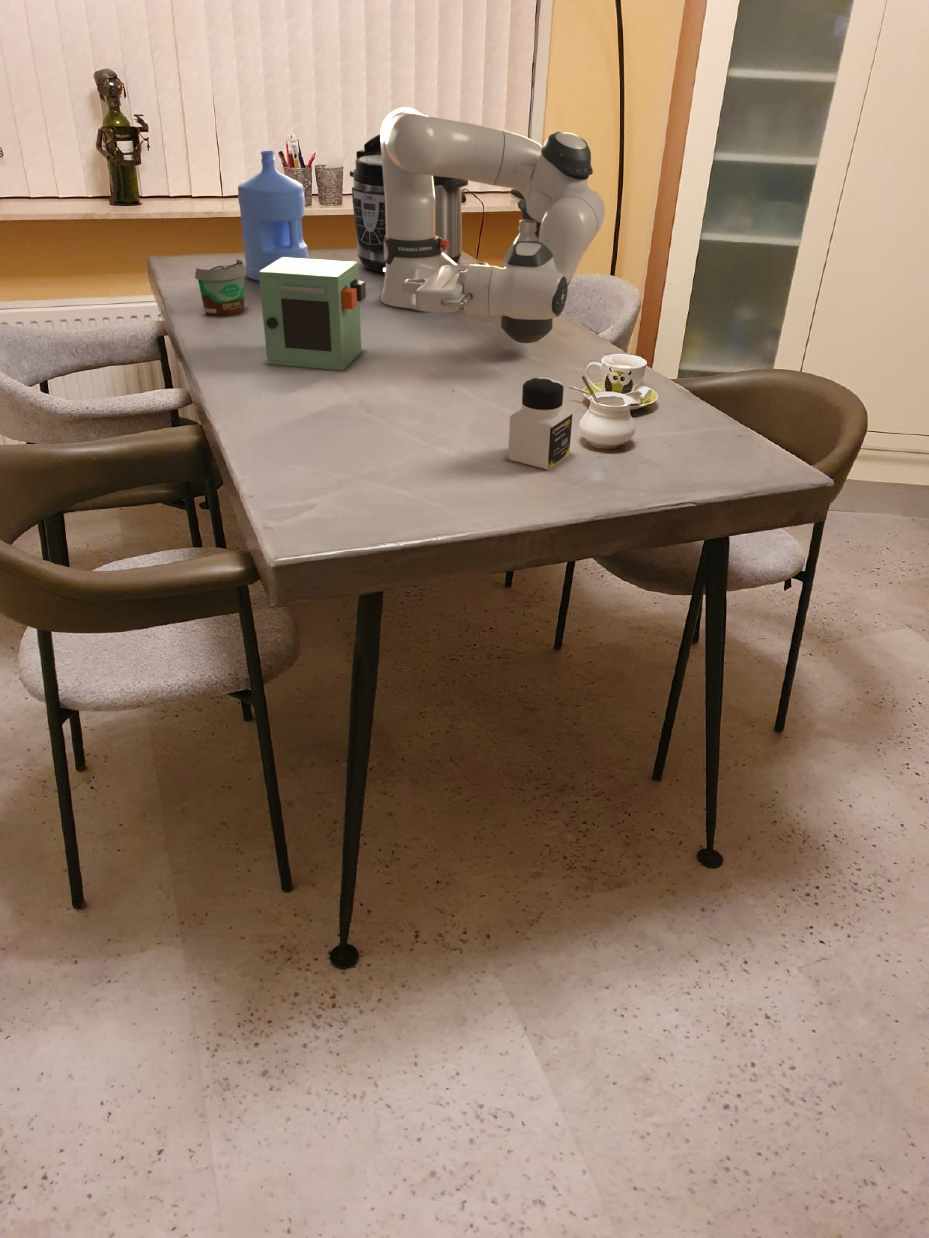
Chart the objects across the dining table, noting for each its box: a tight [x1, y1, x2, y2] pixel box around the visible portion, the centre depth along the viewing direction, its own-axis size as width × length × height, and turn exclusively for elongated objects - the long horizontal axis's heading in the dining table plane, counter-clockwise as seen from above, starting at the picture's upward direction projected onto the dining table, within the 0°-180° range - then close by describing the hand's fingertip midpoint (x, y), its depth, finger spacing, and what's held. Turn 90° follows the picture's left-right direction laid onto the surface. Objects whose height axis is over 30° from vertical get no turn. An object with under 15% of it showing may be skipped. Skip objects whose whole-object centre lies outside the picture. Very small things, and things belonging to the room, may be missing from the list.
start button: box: [341, 288, 357, 309], centre depth 176 cm, size 3×3×3 cm
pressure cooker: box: [349, 133, 469, 273], centre depth 242 cm, size 30×28×32 cm
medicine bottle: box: [507, 376, 574, 471], centre depth 144 cm, size 7×7×12 cm
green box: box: [258, 257, 362, 371], centre depth 181 cm, size 15×13×17 cm
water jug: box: [237, 150, 309, 282], centre depth 232 cm, size 16×16×28 cm
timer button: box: [350, 280, 367, 302], centre depth 180 cm, size 3×3×3 cm
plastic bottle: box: [511, 219, 539, 247], centre depth 206 cm, size 6×7×20 cm
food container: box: [194, 258, 247, 318], centre depth 208 cm, size 12×6×10 cm, turn 143°
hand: (403, 285), depth 178 cm, fingers closed
